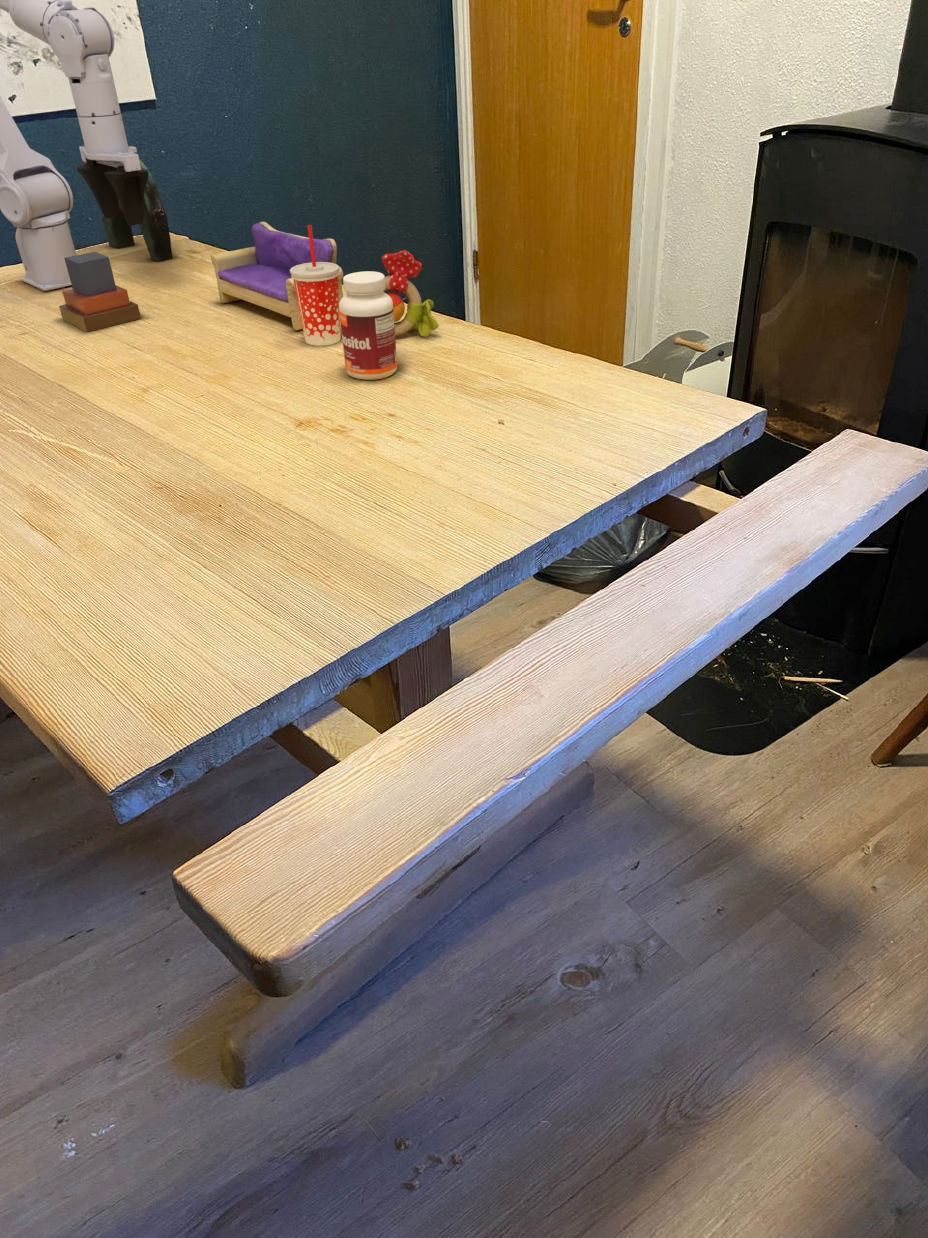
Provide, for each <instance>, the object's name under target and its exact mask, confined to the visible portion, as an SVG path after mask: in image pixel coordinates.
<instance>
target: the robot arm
mask: <svg viewBox="0 0 928 1238" xmlns="http://www.w3.org/2000/svg"><path fill="white" fill-rule="evenodd" d="M0 10H3V11H5V12H7V13H9V17H10V18H11V21H12V22H13V24H14V25H15V27H17V28H18V29H20V30H21V31H22V32H25V33H27V34H28V35H30V36H32V37H34V38H36V39H38V40H39V41H42V42H43V43H45V44H46V45H49V46H50V49H51V50H52V52H53V53H54V55H55V56H56V58H57V59H58V62H59V64H60V66H61V70H62V73H64V75H65V77H66V78H67V79H68V82H69V83H68V84H69V87H70V92H71V95H72V99H73V103H74V107H75V111H76V115H77V121H78V123H79V128H80V132H81V137H82V140H83V144H85V146H83V145H79V146H78V148H79V152H80V157H81V161H82V162H83V161H84V162H87V163H86V165H85V166H83V165H79V166H77V167H76V170H77V172H78V173H79V175H80V176H81V177H82V178H83V180H84V181H85V182H86V184H87V185H88V187H89V189H90V190H91V193H92V195H93V196H94V199H95V200H96V202H97V205H98V207H99V209H100V212H101V211H102V213H103V215H104V217H105V218H111V217H116V216H119V202H120V205H121V208H122V211H123V214H124V217H125V219H126V221H127V223H128V225H130V226H131V227H132V226H136V225H139V224H142V223H143V220H144V192H145V186H146V182H147V179H148V176H149V173H148V170H149V169H148V170H146V169H141V166H140V161H139V159H140V157H139V154H138V149H137V147H136V146H132V145H129V144H128V140H127V135H126V130H125V126H124V121H123V117H122V112H121V107H120V103H119V98H118V93H117V89H116V85H115V80H114V74H113V70H112V67H111V66H112V65H111V62H110V57H111V55H112V54H113V52H114V49H115V36H114V31H113V28H112V26H111V24H110V22H109V20H108V18H107V17H106V16H105V15H104V14H103V13H102V12H100V11H99V10H98V8H96V7H93V6H88V7H83V8H82V9H78V7H76V6H75V5H74V4H73V1H72V0H0ZM118 199H119V201H118ZM73 207H74V196H73V192H72V189H71V186H70V184H69V182H68V181H67V180H66V178H65V177H64V176H63V175H62V174H61V173H60V172H59V171H58V170H57V169H56V168H55V166H54V164H53V163H52V160H51V159H50V158H49V157H47V156H45V155H43V154H41V153H40V152H37V151H35V150H33V149H32V148H30V146H29V144H28V143H27V141H26V139H25V138H24V136H23V134H22V132H21V130H20V129H19V127H18V125H17V124H16V122H15V120H14V118H13V117H12V115H11V113H10V111H9V110H8V108H7V106H6V104H5V103H4V101H3V98H2V97H1V96H0V212H1V213H2V214H3V216H4V217H5V218H6V220H7V221H9V222H10V223H11V224H12V226H13V227H15V228H16V231H15V241H16V246H17V249H18V252H19V256H20V259H21V262H22V265H23V269H24V272H25V275H26V276H22V277H20V280H21V281H22V282H24V283H26V284H28V285H31V286H33V287H35V288H37V289H39V290H41V291H43V292H48V291H52V290H55V289H61V288H65V287H71V286H72V284H71V281H70V277H69V273H68V270H67V266H66V262H65V259H64V258H65V257H70V256H75V255H77V252H76V248H75V245H74V241H73V237H72V234H71V230H70V226H69V222H68V220H70V219H71V214H70V212H71V211H72V209H73ZM102 213H101V214H102Z"/></svg>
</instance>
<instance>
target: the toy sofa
mask: <svg viewBox="0 0 928 1238" xmlns="http://www.w3.org/2000/svg"><path fill="white" fill-rule="evenodd" d="M251 236H252V239H253V243H254V246H251V247H245V248H240V249H235V250H229V251H223V252H219V253H214V254H211V255H210V261H211V263H212V265H213V267H214V272H215V277H216V284H217V289H218V290H217V291H218V296H219V301H220V303H222V304H225V303H226V304H227V303H232V302H236V301H240V300H243V301H246V302H247V303H250V304H253V305H255V306H259V307H262V308H265V309H266V310H267V309H268V310H270V311H272V312H275V313H277V314H280V315H283V316H285V317H289V318H291V319H290V320H291V324H292V328H293V330H294V331H299V330H303V326H302V321H301V316H300V311H299V305H298V300H297V295H296V290H295V285H294V280H293V279H292V277H291V273H290V269H291V268H292V267H294V266H296V265H300V264H304V263H312V259H311V250H310V242H309V237H307V236H302V235H297V234H293V233H289V232H283V231H280V230H277V229H275V228H274V227H272V226H271V225H270V224H269V223H267V222H266V221H260V222H257V223H254V224H253V225H252V227H251ZM313 243H314V251H315V260H316V262H328V263H334V264H337V258H338V257H337V256H338V249H337V247H338V246H337V242H336V241H335V239H333V238H323V239H319V238H313ZM343 277H344V271H343V269H342V267H341V266H339V275H338V289H339V303H340V300H341V299H342V298H343V297H344V291H343V290H344V289H343ZM339 311H340V310H339Z"/></svg>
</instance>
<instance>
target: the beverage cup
mask: <svg viewBox="0 0 928 1238" xmlns="http://www.w3.org/2000/svg"><path fill="white" fill-rule="evenodd" d="M307 230H308V231H307V233H308V238H309V242H310V250H311V259H312V263H304V264H300V265H296V266H294V267H292V268H291V269H290V273H291V277H292V279H293V280H294V285H295V290H296V295H297V300H298V305H299V311H300V316H301V321H302V326H303V329H302V331H303V336H304V341H305V343H306V344H307V345H310V346H321V347H322V346H330V345H334V344H336V343H338V342H340V341H341V339H342V331H341V320H340V311H339V289H338V275H339V267H340V266H339V265H338V264H337V263H336V264H334V263H328V262H316V260H315V251H314V243H313V239H314V235H313V225H312V224H307Z"/></svg>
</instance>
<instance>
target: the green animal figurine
mask: <svg viewBox="0 0 928 1238" xmlns="http://www.w3.org/2000/svg"><path fill="white" fill-rule="evenodd" d="M82 146H85V144H84V143H83V144H82ZM139 161H140V166H141V169H146V170H148V173H149V176H148V179H147V182H146V186H145V192H144V220H143V223H142V224H138V226H139V229H140V232H141V234H142V237H143V240H144V242H145V246H146V249H147V252H148V254H149V256H150V259H151V260H152V261H154V262H155V261H156V262H163V261H166V260H170V259H171V260H172V259H173V250H172V240H171V233H170V227H169V221H168V215H167V213H166V210H165V207H164V204H163V200H162V197H161V194H160V191H159V188H158V185H157V183H156V182H155V179H154V177H153V175H152V173H151V171H150V170H149V169H148V167H147V166H146V165H145V163H144V162H143V161H142V160H141V159H140V158H139ZM86 163H87V162H84V161H82V166H85V165H86ZM118 201H119V199H118ZM100 212H101V213H100V214H101V221H102V225H103V227H104V231H105V234H106V238H107V242H108V246H109V247H112V248H113V249H124V248H128V247H129V248H130V247H133V246H135V238H134V234H133V229H132V226H130V225H128V223H127V221H126V219H125V217H124V214H123V211H122V208H121V205H120V202H119V216H116V217H111V218H105V217H104V215H103V213H102V211H101V210H100Z"/></svg>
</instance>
